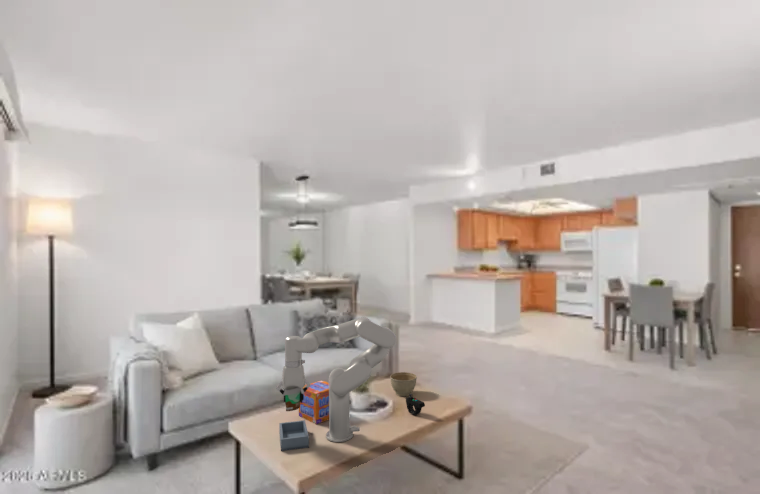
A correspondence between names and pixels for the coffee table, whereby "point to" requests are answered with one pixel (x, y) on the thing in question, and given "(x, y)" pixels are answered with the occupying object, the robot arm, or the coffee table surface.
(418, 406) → the controller
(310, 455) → the coffee table surface
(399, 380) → the planter bowl
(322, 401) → the game box
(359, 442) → the coffee table surface
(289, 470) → the coffee table surface
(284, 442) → the bin
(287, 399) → the latticed semicircular wedge
